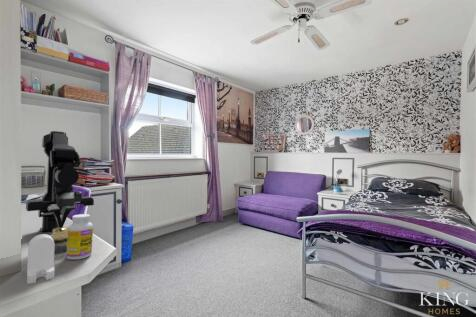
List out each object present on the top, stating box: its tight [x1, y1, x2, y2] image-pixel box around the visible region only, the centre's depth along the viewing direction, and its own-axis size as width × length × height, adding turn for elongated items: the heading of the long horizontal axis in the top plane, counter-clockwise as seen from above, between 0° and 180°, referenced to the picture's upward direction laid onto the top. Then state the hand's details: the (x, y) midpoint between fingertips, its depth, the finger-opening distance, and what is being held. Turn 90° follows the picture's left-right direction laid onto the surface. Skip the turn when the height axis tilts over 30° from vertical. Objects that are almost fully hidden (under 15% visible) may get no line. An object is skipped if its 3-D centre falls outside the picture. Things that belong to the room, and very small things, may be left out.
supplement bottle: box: [66, 213, 94, 261], centre depth 75 cm, size 7×7×13 cm
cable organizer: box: [26, 233, 55, 285], centre depth 63 cm, size 5×10×10 cm, turn 42°
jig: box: [50, 235, 67, 254], centre depth 84 cm, size 14×9×2 cm, turn 46°
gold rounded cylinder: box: [52, 226, 69, 244], centre depth 84 cm, size 4×4×6 cm
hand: (60, 227), depth 84 cm, fingers closed
